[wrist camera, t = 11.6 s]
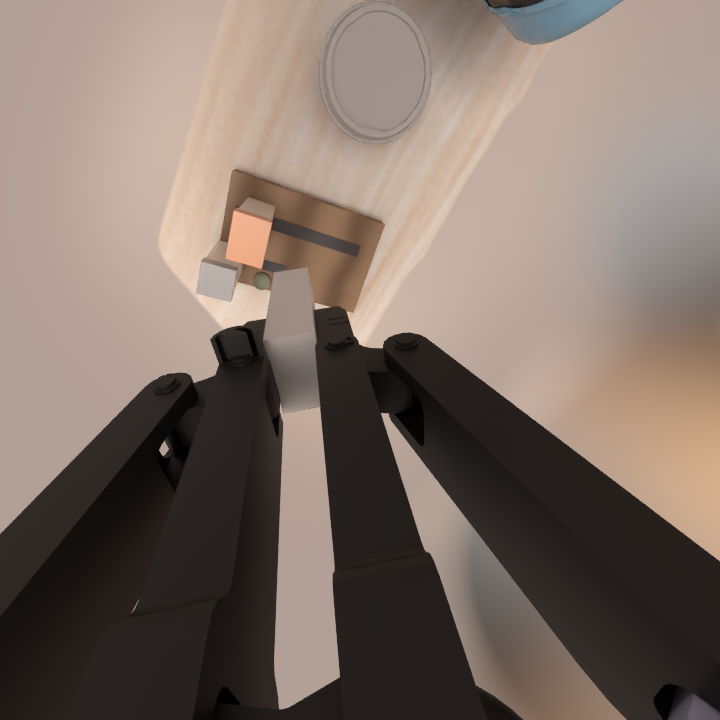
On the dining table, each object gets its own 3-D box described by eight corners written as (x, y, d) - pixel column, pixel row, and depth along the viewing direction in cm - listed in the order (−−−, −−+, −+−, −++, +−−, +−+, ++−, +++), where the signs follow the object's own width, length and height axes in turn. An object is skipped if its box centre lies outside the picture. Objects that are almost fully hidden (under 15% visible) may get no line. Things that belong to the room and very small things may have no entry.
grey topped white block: (247, 247, 43) (236, 271, 35) (242, 273, 44) (230, 302, 36) (219, 238, 42) (200, 261, 34) (214, 265, 43) (196, 293, 35)
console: (380, 221, 47) (386, 226, 44) (350, 306, 52) (354, 315, 49) (235, 169, 41) (230, 170, 38) (218, 269, 46) (212, 277, 43)
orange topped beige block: (276, 205, 41) (271, 222, 32) (268, 241, 43) (261, 268, 33) (248, 195, 40) (233, 210, 31) (240, 233, 42) (225, 258, 32)
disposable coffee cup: (295, 100, 39) (295, 82, 29) (350, 11, 36) (373, -44, 26) (362, 164, 43) (384, 169, 33) (417, 88, 40) (459, 68, 30)
